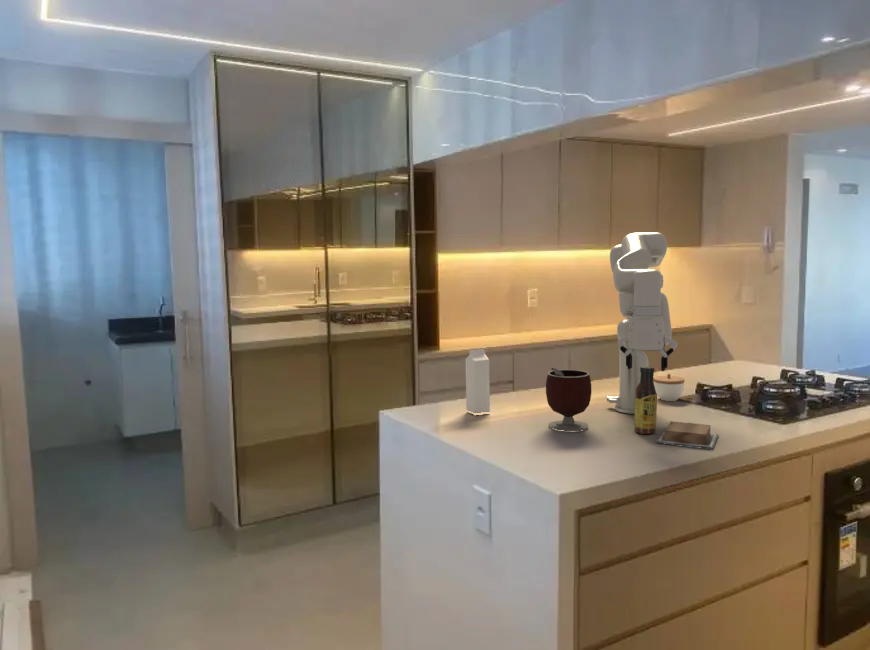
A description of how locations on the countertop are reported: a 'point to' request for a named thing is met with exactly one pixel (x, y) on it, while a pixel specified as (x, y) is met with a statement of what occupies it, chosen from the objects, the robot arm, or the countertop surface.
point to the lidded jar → (669, 387)
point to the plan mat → (688, 435)
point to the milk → (477, 382)
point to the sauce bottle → (645, 402)
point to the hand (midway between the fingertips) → (646, 369)
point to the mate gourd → (568, 397)
